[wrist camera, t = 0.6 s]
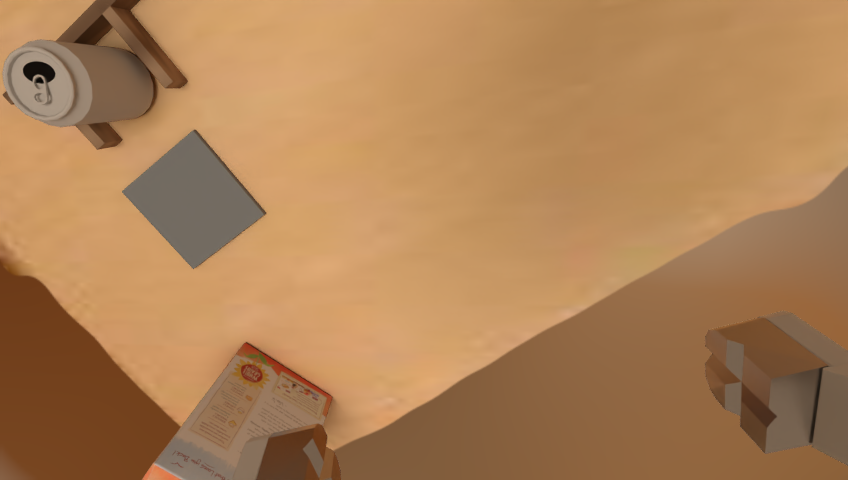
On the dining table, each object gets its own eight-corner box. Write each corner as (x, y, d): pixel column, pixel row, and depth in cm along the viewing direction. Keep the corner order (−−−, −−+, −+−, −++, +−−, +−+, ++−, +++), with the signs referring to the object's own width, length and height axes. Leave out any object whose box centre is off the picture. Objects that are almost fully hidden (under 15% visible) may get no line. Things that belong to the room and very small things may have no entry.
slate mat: (125, 190, 56) (121, 191, 56) (195, 129, 53) (192, 130, 53) (195, 267, 59) (193, 269, 58) (266, 213, 56) (264, 214, 56)
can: (152, 48, 51) (67, 37, 40) (163, 119, 53) (87, 129, 42) (84, 47, 51) (-19, 37, 40) (99, 118, 54) (5, 128, 42)
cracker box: (224, 370, 64) (123, 500, 44) (246, 339, 62) (152, 460, 42) (310, 425, 66) (252, 572, 46) (334, 396, 64) (285, 537, 44)
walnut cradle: (26, 94, 53) (2, 95, 50) (146, -26, 49) (128, -33, 46) (92, 166, 55) (73, 170, 52) (213, 58, 51) (199, 56, 48)
